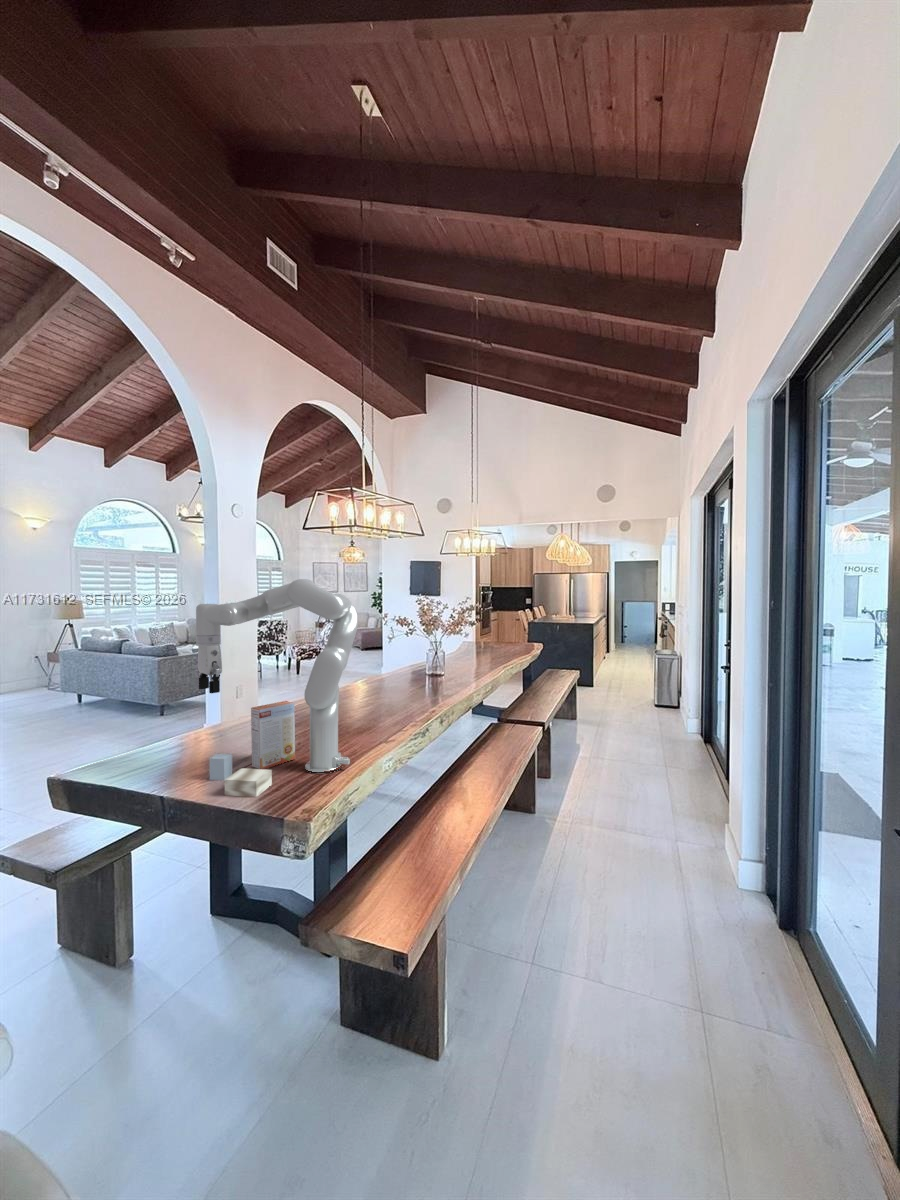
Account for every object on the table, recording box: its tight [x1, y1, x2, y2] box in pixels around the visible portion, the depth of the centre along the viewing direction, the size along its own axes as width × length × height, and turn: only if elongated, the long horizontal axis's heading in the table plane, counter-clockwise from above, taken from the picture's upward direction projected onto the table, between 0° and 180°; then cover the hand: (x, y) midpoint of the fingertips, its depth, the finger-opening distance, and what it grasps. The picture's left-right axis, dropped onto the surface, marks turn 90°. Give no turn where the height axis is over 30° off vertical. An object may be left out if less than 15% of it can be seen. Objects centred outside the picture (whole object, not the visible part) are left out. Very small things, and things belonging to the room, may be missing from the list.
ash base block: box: [224, 767, 273, 798], centre depth 164 cm, size 10×10×5 cm
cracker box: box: [250, 700, 296, 770], centre depth 188 cm, size 14×6×21 cm, turn 141°
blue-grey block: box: [209, 753, 233, 781], centre depth 174 cm, size 5×5×7 cm
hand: (209, 690), depth 181 cm, fingers open, 9 cm apart
